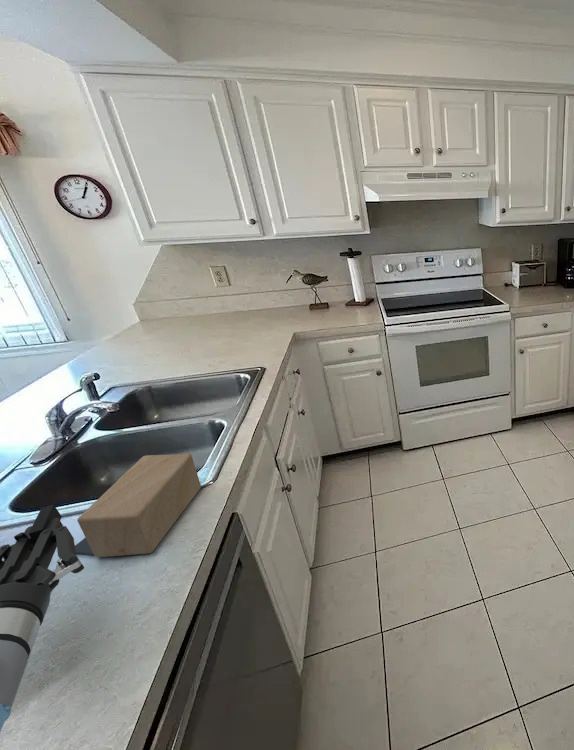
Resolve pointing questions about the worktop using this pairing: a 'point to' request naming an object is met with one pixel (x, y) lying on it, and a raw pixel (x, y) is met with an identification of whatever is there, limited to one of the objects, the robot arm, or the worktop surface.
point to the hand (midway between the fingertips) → (51, 512)
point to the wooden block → (140, 506)
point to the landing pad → (83, 548)
